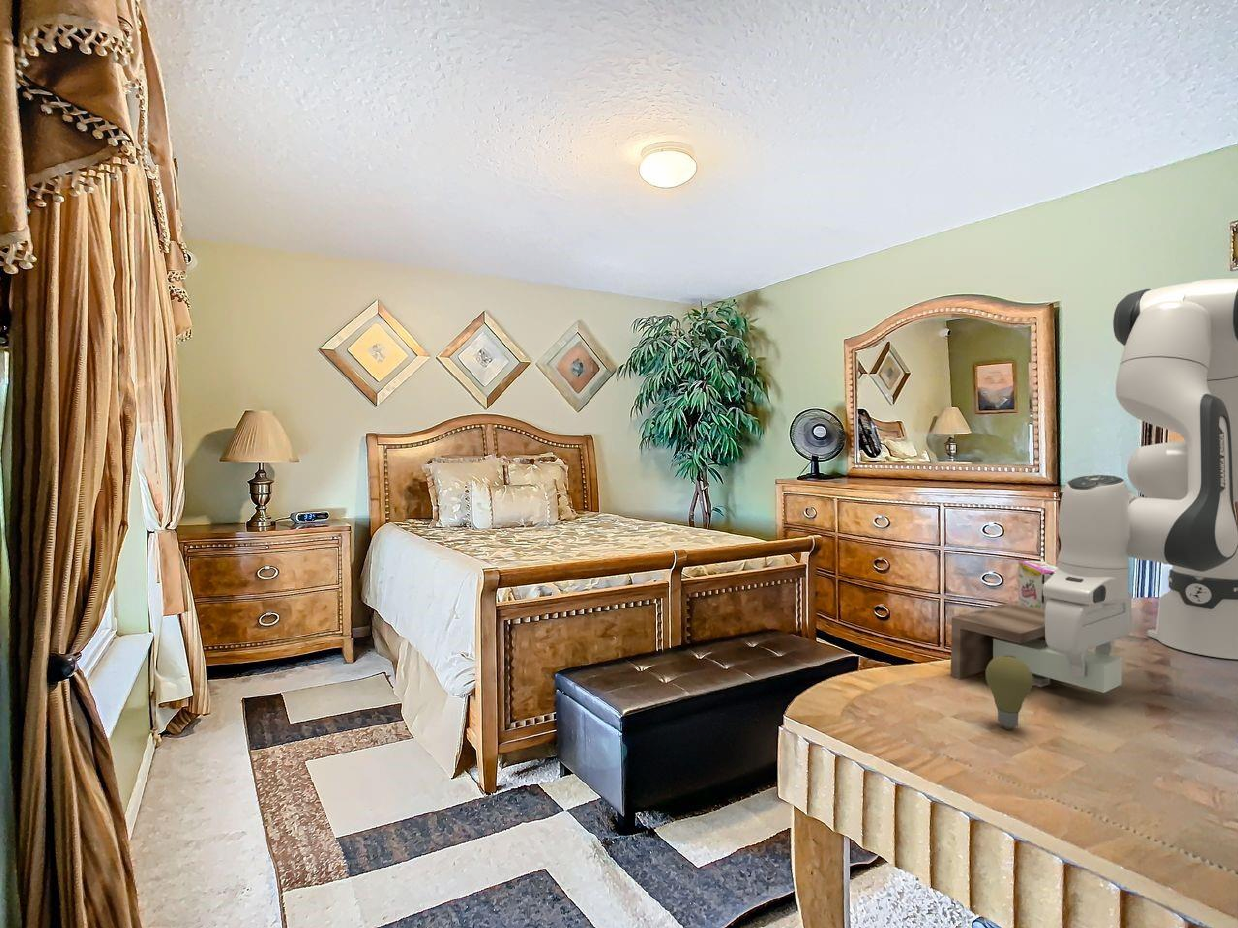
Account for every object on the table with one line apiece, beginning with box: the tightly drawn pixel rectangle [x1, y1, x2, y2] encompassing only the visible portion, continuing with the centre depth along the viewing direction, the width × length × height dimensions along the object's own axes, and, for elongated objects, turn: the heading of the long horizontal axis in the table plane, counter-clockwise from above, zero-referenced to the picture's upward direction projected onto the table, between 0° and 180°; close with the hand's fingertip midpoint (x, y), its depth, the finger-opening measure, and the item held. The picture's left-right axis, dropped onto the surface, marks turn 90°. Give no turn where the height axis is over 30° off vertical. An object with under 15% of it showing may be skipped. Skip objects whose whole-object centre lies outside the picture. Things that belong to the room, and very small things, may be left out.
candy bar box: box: [1017, 560, 1058, 610], centre depth 120 cm, size 11×5×16 cm, turn 168°
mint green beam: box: [993, 638, 1123, 694], centre depth 104 cm, size 6×16×4 cm, turn 32°
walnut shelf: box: [950, 602, 1051, 688], centre depth 109 cm, size 18×11×10 cm, turn 122°
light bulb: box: [985, 655, 1034, 730], centre depth 90 cm, size 6×6×10 cm
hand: (1089, 671), depth 100 cm, fingers closed on mint green beam, 6 cm apart
